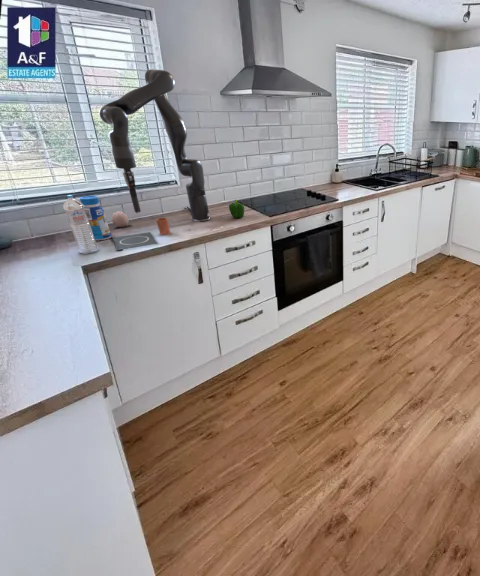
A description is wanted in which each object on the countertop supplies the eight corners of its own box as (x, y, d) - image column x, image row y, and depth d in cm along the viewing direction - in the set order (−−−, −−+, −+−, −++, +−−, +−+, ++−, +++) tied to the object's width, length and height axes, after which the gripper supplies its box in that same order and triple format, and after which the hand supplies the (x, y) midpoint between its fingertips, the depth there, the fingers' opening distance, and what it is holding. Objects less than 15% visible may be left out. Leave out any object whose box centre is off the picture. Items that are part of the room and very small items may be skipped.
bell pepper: (242, 219, 215) (240, 202, 211) (228, 218, 215) (226, 201, 211) (247, 215, 223) (245, 198, 218) (234, 214, 223) (231, 198, 218)
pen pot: (159, 233, 188) (155, 218, 185) (169, 232, 191) (166, 217, 188) (161, 236, 185) (157, 221, 182) (171, 234, 188) (168, 219, 184)
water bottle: (78, 255, 160) (57, 197, 149) (81, 250, 166) (61, 194, 155) (97, 253, 163) (78, 196, 152) (99, 248, 169) (81, 193, 157)
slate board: (112, 238, 180) (112, 237, 180) (150, 233, 189) (149, 231, 189) (117, 251, 166) (117, 249, 166) (157, 244, 175) (157, 242, 175)
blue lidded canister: (89, 237, 180) (75, 196, 171) (109, 234, 186) (97, 194, 177) (93, 242, 175) (79, 200, 166) (114, 238, 181) (101, 197, 172)
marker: (134, 212, 174) (127, 184, 169) (140, 212, 176) (133, 184, 170) (135, 213, 172) (128, 185, 167) (141, 213, 174) (134, 185, 168)
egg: (133, 225, 200) (128, 209, 196) (125, 229, 193) (120, 213, 190) (119, 224, 199) (114, 209, 196) (111, 228, 193) (106, 213, 189)
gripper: (136, 158, 160) (145, 197, 168) (131, 154, 170) (140, 192, 178) (115, 158, 156) (126, 199, 164) (111, 155, 166) (122, 194, 173)
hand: (133, 195), depth 171 cm, fingers closed on marker, 2 cm apart
